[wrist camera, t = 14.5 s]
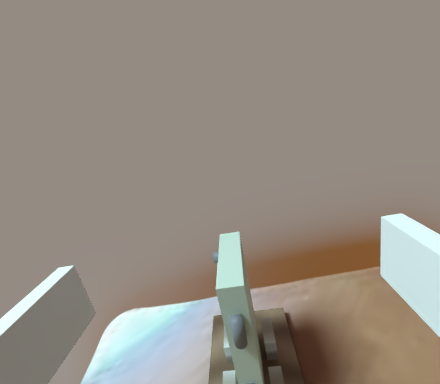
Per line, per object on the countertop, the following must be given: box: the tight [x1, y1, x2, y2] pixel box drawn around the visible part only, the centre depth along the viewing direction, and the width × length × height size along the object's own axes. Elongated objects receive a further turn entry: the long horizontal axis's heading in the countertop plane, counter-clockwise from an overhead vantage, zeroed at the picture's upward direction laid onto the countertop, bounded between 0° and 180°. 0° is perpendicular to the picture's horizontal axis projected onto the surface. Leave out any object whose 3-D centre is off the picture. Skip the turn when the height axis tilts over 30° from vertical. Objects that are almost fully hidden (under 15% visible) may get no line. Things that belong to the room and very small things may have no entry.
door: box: [213, 232, 265, 384], centre depth 27 cm, size 11×4×18 cm, turn 178°
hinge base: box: [209, 308, 305, 384], centre depth 30 cm, size 20×12×4 cm, turn 178°
